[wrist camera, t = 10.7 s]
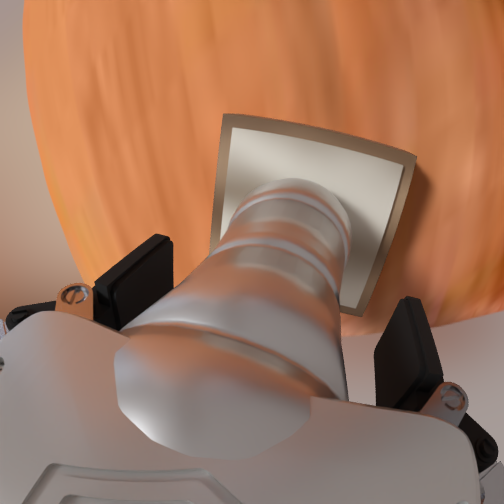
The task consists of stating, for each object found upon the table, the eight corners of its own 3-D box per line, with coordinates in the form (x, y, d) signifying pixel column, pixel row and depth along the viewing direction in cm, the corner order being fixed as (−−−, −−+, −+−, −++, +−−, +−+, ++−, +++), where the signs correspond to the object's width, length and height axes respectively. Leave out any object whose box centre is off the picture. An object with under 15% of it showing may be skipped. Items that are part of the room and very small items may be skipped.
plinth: (237, 113, 19) (221, 113, 16) (405, 150, 17) (418, 157, 14) (221, 259, 25) (206, 279, 22) (360, 294, 23) (362, 319, 20)
